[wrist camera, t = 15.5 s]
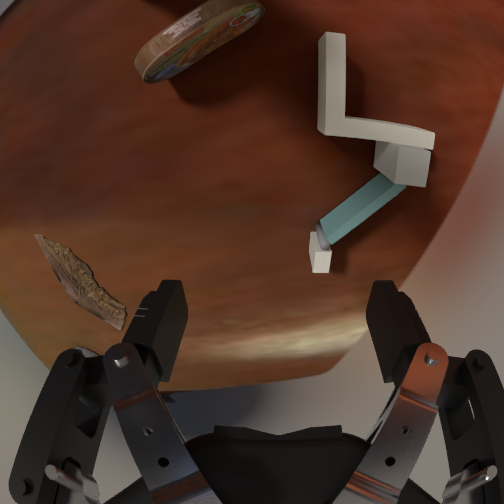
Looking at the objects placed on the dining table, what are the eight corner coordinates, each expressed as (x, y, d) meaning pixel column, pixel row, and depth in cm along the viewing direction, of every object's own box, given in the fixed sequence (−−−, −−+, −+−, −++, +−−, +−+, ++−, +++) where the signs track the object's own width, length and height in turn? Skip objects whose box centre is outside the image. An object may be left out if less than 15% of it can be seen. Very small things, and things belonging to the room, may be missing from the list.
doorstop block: (376, 135, 30) (399, 146, 24) (404, 140, 30) (431, 151, 24) (373, 166, 32) (394, 183, 26) (401, 170, 32) (425, 187, 26)
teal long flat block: (386, 167, 32) (402, 179, 28) (394, 179, 33) (410, 193, 28) (312, 225, 37) (317, 245, 33) (321, 235, 38) (327, 256, 33)
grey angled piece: (318, 41, 25) (325, 31, 21) (417, 59, 24) (438, 56, 20) (308, 250, 40) (313, 272, 35) (393, 253, 39) (405, 273, 34)
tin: (162, 86, 29) (131, 85, 22) (149, 68, 28) (117, 64, 21) (268, 20, 25) (266, -2, 17) (253, 2, 23) (247, -24, 16)
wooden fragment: (139, 319, 50) (137, 323, 49) (109, 334, 54) (107, 337, 53) (50, 215, 40) (46, 217, 39) (29, 243, 44) (26, 245, 43)
